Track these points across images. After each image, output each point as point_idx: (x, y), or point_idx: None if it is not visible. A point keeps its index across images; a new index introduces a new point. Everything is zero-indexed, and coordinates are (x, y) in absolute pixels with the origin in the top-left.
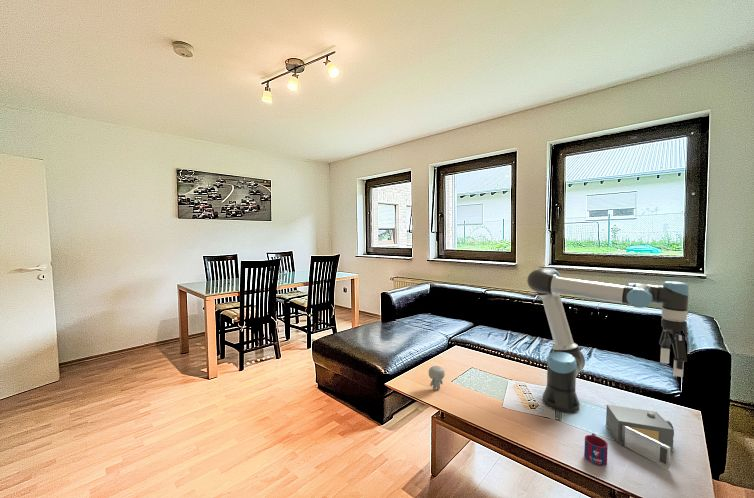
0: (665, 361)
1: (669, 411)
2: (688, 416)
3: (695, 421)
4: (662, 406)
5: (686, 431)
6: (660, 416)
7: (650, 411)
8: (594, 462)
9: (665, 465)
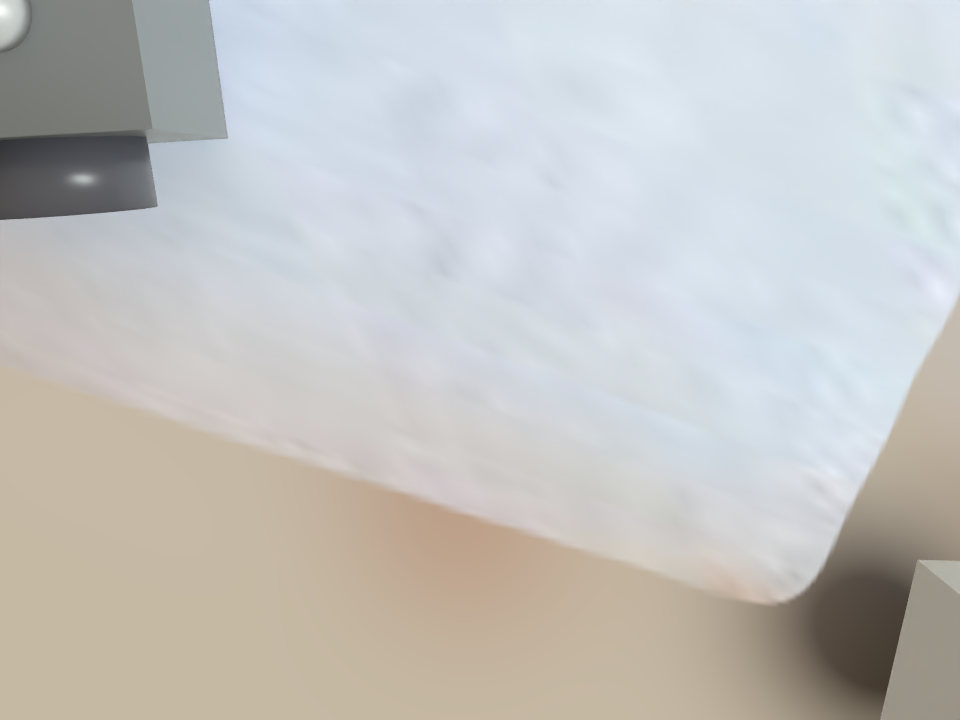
0: (931, 700)
1: (720, 419)
2: (675, 534)
3: (602, 551)
4: (804, 396)
5: (388, 416)
6: (27, 126)
7: (121, 50)
8: None
9: None
